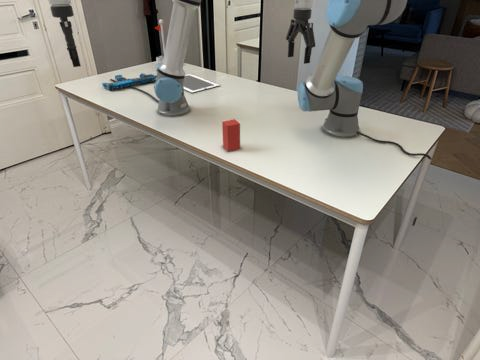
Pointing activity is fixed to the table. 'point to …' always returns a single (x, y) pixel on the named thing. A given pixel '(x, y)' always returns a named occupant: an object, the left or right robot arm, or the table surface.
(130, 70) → the table surface
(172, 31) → the left robot arm
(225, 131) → the brick
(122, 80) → the submachine gun
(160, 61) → the flag stand
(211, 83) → the tablet
